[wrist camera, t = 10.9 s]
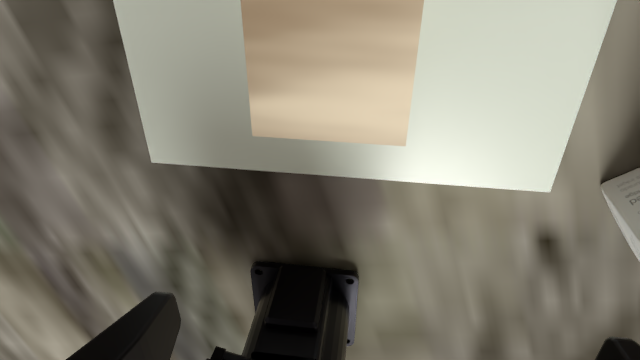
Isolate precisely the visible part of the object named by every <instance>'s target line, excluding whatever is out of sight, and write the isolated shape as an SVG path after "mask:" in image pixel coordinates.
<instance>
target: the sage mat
mask: <svg viewBox="0 0 640 360" xmlns="http://www.w3.org/2000/svg"><path fill="white" fill-rule="evenodd" d="M113 2H114V6H115V11H116V15H117V19H118V23H119V28H120V32H121V36H122V40H123V44H124V49H125V53H126V57H127V61H128V65H129V70H130V74H131V78H132V82H133V86H134V91H135V95H136V99H137V103H138V107H139V112H140V116H141V120H142V124H143V128H144V133H145V137H146V141H147V145H148V150H149V154H150V158H151V162H152V163H164V164H177V165H191V166H204V167H218V168H231V169H244V170H258V171H271V172H284V173H298V174H311V175H324V176H338V177H351V178H365V179H378V180H391V181H405V182H418V183H431V184H445V185H458V186H471V187H485V188H498V189H512V190H525V191H538V192H550V190H551V188H552V185H553V182H554V179H555V176H556V173H557V170H558V168H559V165H560V162H561V159H562V156H563V153H564V150H565V148H566V145H567V142H568V139H569V136H570V133H571V130H572V128H573V125H574V122H575V119H576V116H577V113H578V110H579V108H580V105H581V102H582V99H583V96H584V93H585V90H586V88H587V85H588V82H589V79H590V76H591V73H592V70H593V68H594V65H595V62H596V59H597V56H598V53H599V50H600V48H601V45H602V42H603V39H604V36H605V33H606V30H607V28H608V25H609V22H610V19H611V16H612V13H613V10H614V8H615V5H616V2H617V0H424V5H423V13H422V21H421V29H420V37H419V45H418V53H417V60H416V68H415V76H414V84H413V92H412V100H411V108H410V116H409V124H408V132H407V140H406V146H392V145H377V144H363V143H348V142H333V141H318V140H303V139H288V138H273V137H258V136H252V126H251V115H250V103H249V92H248V81H247V69H246V58H245V47H244V35H243V24H242V13H241V1H240V0H113Z"/></svg>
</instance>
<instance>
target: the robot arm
mask: <svg viewBox="0 0 640 360" xmlns="http://www.w3.org/2000/svg"><path fill="white" fill-rule="evenodd" d="M258 269H260V270H262V271H260V270H258ZM251 278H252V287H253V296H254V305H255V316H254V319H253V322H252V325H251V328H250V332H249V335H248V338H247V341H246V344H245V347H244V350H243V353H242V355H238V354H235V353H231V352H228V351H226V349H224V348H220V347H217V346H216V347H215V350H214V352H213V354H212V357H211V359H206V360H345V356H346V346H351V345H352V344H353V343H354V336H355V322H356V308H357V294H358V281H359V276H358V274H357V273H356V272H354V271H351V270H341V269H331V268H321V267H310V266H300V265H290V264H280V263H270V262H255V263H254V264H253V265H252V268H251ZM348 278H351V279H352V280H350V279H348ZM180 323H181V318H180V314H179V310H178V306H177V302H176V298H175V296H174V295H173V294H172V293H166V292H155V293H153V294H151V295H150V296H148V297H147V298H146V299H144V300H143V301H142V302H141V303H139V304H138V305H137V306H135V307H134V308H133V309H131V310H130V311H129V312H127V313H126V314H125V315H124V316H122V317H121V318H120V319H118V320H117V321H116V322H114V323H113V324H112V325H111V326H109V327H108V328H107V329H105V330H104V331H103V332H101V333H100V334H99V335H97V336H96V337H95V338H94V339H92V340H91V341H90V342H88V343H87V344H86V345H84V346H83V347H82V348H81V349H79V350H78V351H77V352H75V353H74V354H73V355H71V356H70V357H69V358H67V359H66V360H170V357H171V354H172V351H173V348H174V345H175V342H176V338H177V335H178V332H179V329H180ZM595 360H640V345H639V344H638V343H636V342H635V341H633V340H632V339H629V338H620V337H609V338H607V339H606V340H605V341H604V343H603V345H602V347H601V349H600V351H599V353H598V355H597V356H596V358H595Z"/></svg>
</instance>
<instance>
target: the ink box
mask: <svg viewBox="0 0 640 360" xmlns="http://www.w3.org/2000/svg"><path fill="white" fill-rule="evenodd" d="M601 190H602V192H603V194H604V197H605V199H606V201H607V204H608V206H609V208H610V210H611V212H612V214H613V216H614V218H615V220H616V222H617V224H618V226H619V227H620V229H621V231H622V233H623V235H624V237H625V238H626V240H627V242H628V244H629V246H630V247H631V249H632V250H633V252H634V254H635V255H636V257H637V258H638V260H639V261H640V168H637V169H635V170H632V171H630V172H628V173H626V174H623V175H621V176H618V177H616V178H614V179H611V180H609V181H606V182H604V183H602V185H601Z"/></svg>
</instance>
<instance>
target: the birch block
mask: <svg viewBox="0 0 640 360" xmlns="http://www.w3.org/2000/svg"><path fill="white" fill-rule="evenodd" d="M240 1H241V13H242V24H243V35H244V47H245V58H246V69H247V81H248V92H249V103H250V115H251V126H252V136H258V137H273V138H288V139H303V140H318V141H333V142H348V143H363V144H377V145H392V146H406V140H407V132H408V124H409V116H410V108H411V100H412V92H413V84H414V76H415V68H416V60H417V53H418V45H419V37H420V29H421V21H422V13H423V5H424V0H240Z"/></svg>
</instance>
